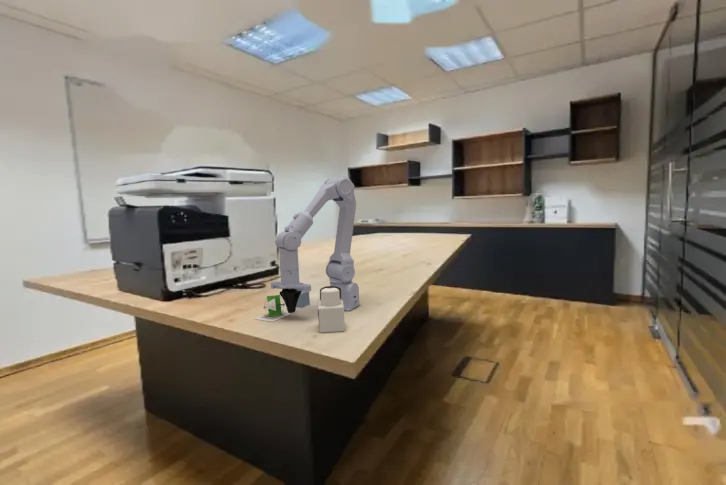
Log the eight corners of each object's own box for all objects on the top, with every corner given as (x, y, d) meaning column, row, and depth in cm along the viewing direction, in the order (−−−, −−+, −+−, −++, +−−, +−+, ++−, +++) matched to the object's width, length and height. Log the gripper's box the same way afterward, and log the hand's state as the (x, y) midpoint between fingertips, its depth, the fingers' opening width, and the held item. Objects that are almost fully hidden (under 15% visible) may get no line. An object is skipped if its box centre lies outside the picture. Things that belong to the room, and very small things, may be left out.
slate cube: (309, 304, 131) (309, 291, 131) (302, 307, 127) (301, 293, 127) (299, 303, 133) (299, 290, 133) (291, 306, 129) (291, 292, 129)
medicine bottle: (319, 324, 109) (318, 285, 107) (343, 323, 109) (342, 283, 108) (319, 333, 101) (317, 290, 100) (344, 331, 102) (343, 289, 101)
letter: (297, 311, 123) (297, 311, 123) (272, 322, 113) (272, 321, 113) (278, 308, 127) (278, 308, 127) (253, 318, 116) (253, 318, 116)
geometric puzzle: (262, 306, 123) (262, 290, 118) (282, 303, 125) (283, 288, 120) (264, 323, 118) (265, 308, 113) (286, 320, 120) (287, 305, 115)
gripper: (262, 270, 114) (265, 313, 116) (300, 273, 107) (302, 318, 109) (278, 266, 120) (280, 307, 122) (314, 269, 114) (316, 312, 115)
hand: (291, 312), depth 116 cm, fingers closed
